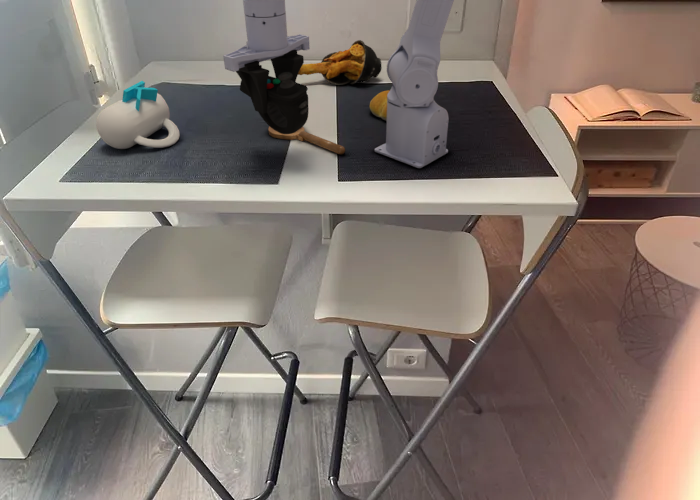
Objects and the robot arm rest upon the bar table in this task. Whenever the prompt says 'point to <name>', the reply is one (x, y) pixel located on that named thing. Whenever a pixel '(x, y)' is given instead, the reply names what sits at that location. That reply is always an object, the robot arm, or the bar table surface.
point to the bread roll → (380, 105)
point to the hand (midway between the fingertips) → (273, 106)
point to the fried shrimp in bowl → (347, 65)
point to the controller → (284, 103)
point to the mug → (136, 119)
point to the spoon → (308, 139)
